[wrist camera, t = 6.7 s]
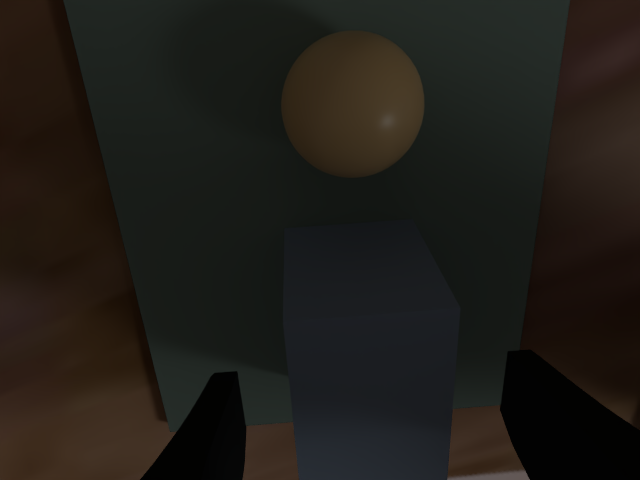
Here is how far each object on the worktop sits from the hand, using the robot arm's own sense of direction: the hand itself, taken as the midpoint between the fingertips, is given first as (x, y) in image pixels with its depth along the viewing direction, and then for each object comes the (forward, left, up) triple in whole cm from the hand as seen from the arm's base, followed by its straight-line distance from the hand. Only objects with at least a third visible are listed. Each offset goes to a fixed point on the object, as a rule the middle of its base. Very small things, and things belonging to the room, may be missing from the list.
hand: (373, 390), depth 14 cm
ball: (0, -7, -2) cm, 7 cm away
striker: (0, 0, -4) cm, 4 cm away
